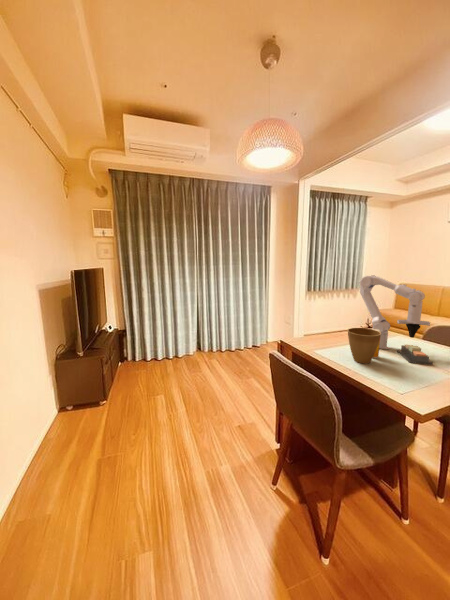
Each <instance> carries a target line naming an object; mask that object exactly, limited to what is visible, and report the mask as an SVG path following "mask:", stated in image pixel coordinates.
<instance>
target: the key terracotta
mask: <svg viewBox="0 0 450 600" xmlns="http://www.w3.org/2000/svg"><path fill="white" fill-rule="evenodd" d="M413 354H414V355H416V356H425V357H426V355H427V354H426V353H425V352H423V351H422V352H419V351H413Z"/></svg>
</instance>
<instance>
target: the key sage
mask: <svg viewBox="0 0 450 600" xmlns="http://www.w3.org/2000/svg"><path fill="white" fill-rule="evenodd" d="M408 345H409V349H408V350H409V351H411V352H413V351H419V352H421V351H422V348H421V347H420V346H419V345H413V346H411V345H412V344H408Z"/></svg>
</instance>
